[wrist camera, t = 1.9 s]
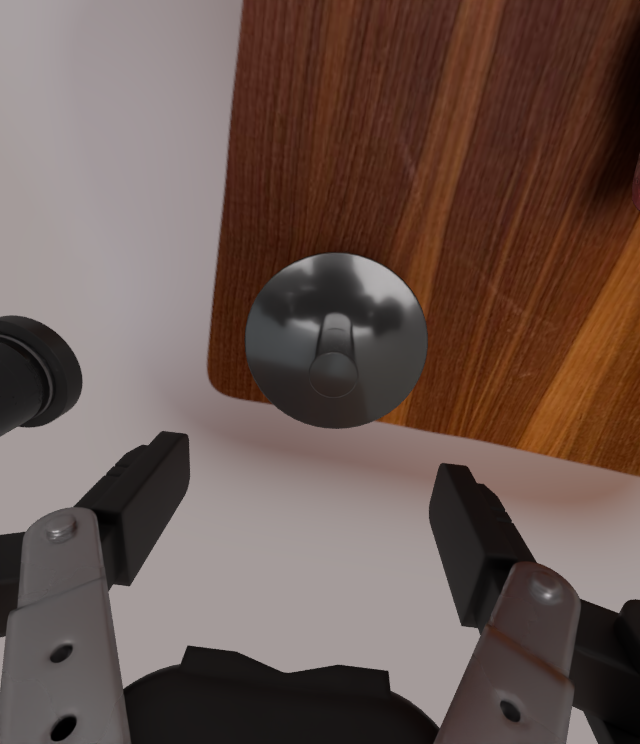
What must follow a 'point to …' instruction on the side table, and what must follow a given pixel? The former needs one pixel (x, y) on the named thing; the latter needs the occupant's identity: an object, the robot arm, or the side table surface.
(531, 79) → the side table surface
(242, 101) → the side table surface
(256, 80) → the side table surface
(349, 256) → the lid
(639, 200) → the bowl
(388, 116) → the side table surface
